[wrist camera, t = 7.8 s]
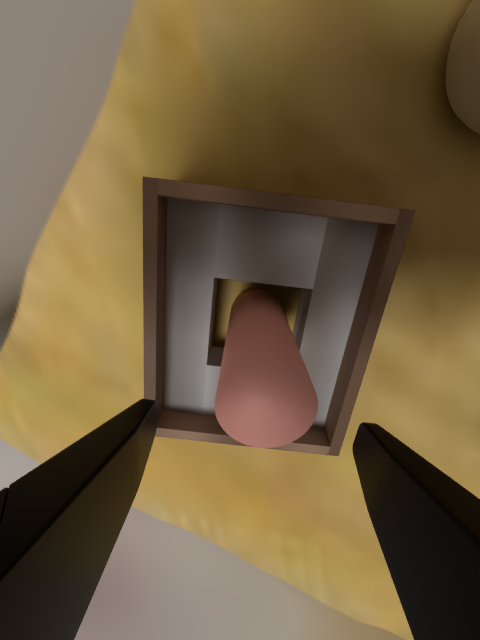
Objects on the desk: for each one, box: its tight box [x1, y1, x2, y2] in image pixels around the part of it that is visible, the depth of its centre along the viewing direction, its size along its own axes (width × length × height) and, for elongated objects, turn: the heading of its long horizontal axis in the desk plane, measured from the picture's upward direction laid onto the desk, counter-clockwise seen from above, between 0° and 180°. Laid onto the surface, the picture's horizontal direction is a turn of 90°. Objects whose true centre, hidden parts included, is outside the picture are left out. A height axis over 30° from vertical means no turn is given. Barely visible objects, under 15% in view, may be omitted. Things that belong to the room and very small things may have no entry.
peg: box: [214, 289, 318, 448], centre depth 13 cm, size 3×3×9 cm
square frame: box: [143, 177, 415, 456], centre depth 15 cm, size 11×13×4 cm
